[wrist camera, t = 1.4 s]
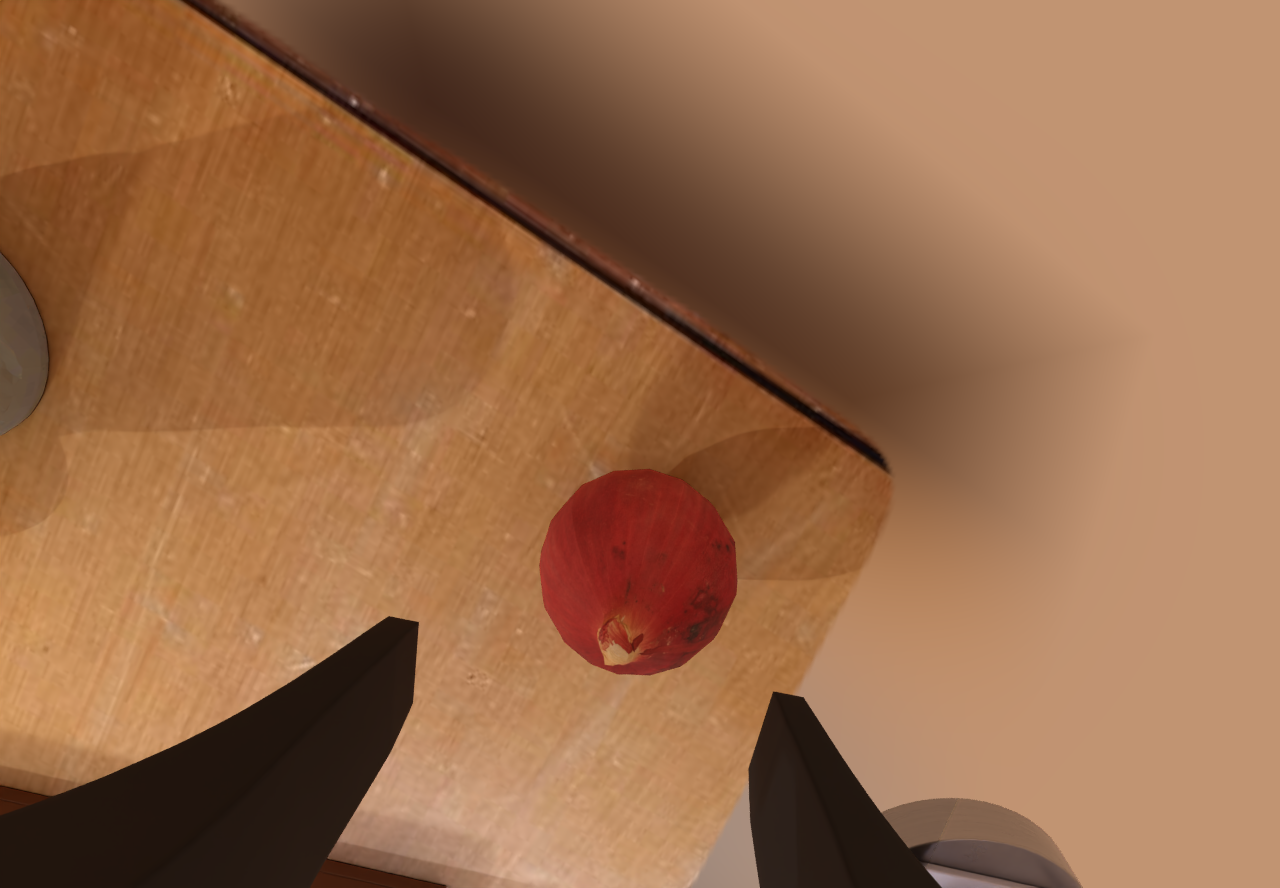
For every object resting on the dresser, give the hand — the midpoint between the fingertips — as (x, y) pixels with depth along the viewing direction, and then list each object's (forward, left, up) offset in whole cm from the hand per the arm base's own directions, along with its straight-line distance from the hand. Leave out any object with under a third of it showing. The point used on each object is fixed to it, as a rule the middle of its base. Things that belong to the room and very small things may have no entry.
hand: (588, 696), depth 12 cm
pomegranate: (-1, 0, -10) cm, 10 cm away
